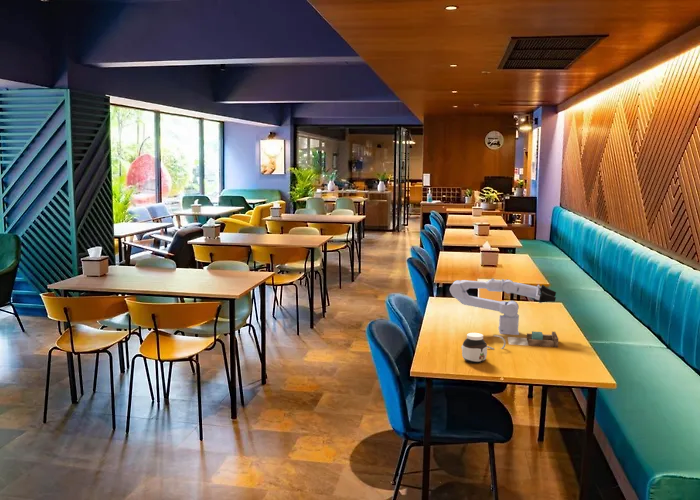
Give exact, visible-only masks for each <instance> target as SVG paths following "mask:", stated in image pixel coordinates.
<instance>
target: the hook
mask: <svg viewBox="0 0 700 500" xmlns="http://www.w3.org/2000/svg"><path fill="white" fill-rule="evenodd" d="M493 337H497V338H500V339H501V340H502V341H503V345H502V347H500V348H499V349H501V350H503V349H505V347H506V346H507V345H506V339H505V338H504V337H503V336H502V335H500V334H499V335H498V334H495V335H493ZM461 349H462V346H461ZM487 349H490V350H493V351H494V350H495V348H494V347H492V346H489V345H487Z"/></svg>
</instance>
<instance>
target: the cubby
mask: <svg viewBox="0 0 700 500" xmlns="http://www.w3.org/2000/svg"><path fill="white" fill-rule="evenodd" d="M542 334H543V340H537V339H532V333H528V332H527V333H526V337H517V336H515V337H513V336H507V343H508V345H515V346H531V347H546V348H559V337H558V334H557V333H556V331H551V334H544V333H542Z"/></svg>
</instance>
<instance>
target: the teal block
mask: <svg viewBox="0 0 700 500" xmlns="http://www.w3.org/2000/svg"><path fill="white" fill-rule="evenodd" d="M531 334H532V339H537V340H543V334H544V333H543V332H542V331H534V330H533V331H531Z"/></svg>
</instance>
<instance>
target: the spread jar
mask: <svg viewBox="0 0 700 500" xmlns="http://www.w3.org/2000/svg"><path fill="white" fill-rule="evenodd" d="M487 346H488V345H487V342H486V341H485V340H484V334H482V333H478V332H469V333H467V334H466V339H464V341H463V342H462V345H461V347H462V348H461V355H462V358H463V360H464V361H465V362H466V363H469V364H482V363H483V362H485V360H486V359H487V355H488V348H487Z"/></svg>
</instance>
